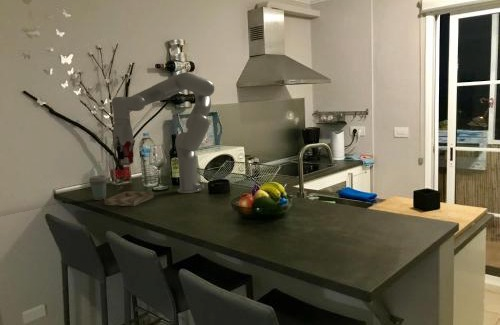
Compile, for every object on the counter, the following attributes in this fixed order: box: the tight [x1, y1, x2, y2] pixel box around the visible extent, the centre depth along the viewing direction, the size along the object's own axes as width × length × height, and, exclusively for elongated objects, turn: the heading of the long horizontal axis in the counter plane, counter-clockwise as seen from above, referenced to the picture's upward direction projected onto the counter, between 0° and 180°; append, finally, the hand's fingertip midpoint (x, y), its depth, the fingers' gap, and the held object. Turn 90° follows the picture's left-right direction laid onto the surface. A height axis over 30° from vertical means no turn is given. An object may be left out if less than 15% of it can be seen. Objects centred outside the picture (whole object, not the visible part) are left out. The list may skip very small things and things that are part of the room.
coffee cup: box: [88, 174, 107, 201], centre depth 216 cm, size 8×8×12 cm
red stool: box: [118, 140, 134, 166], centre depth 207 cm, size 7×7×12 cm
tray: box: [103, 191, 155, 207], centre depth 208 cm, size 17×17×3 cm
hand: (126, 157), depth 207 cm, fingers closed on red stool, 6 cm apart
